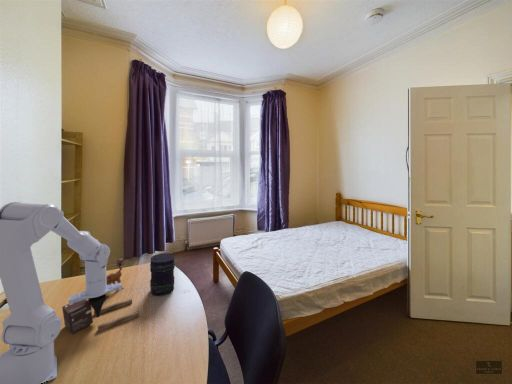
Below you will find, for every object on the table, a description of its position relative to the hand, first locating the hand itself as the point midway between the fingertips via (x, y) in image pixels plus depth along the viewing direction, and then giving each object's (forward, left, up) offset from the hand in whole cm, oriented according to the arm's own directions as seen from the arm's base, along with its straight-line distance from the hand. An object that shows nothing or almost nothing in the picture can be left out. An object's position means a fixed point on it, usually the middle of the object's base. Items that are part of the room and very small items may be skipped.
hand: (97, 315), depth 75 cm
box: (-5, +2, -2) cm, 5 cm away
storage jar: (+24, +7, -2) cm, 25 cm away
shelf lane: (+6, 0, -2) cm, 6 cm away
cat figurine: (+4, +17, -3) cm, 18 cm away
